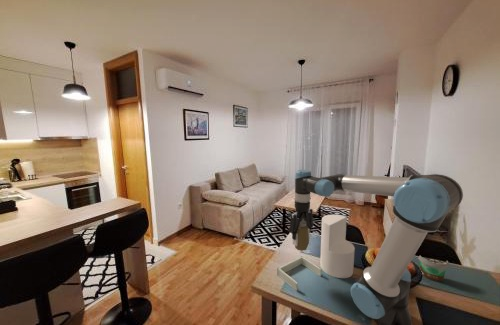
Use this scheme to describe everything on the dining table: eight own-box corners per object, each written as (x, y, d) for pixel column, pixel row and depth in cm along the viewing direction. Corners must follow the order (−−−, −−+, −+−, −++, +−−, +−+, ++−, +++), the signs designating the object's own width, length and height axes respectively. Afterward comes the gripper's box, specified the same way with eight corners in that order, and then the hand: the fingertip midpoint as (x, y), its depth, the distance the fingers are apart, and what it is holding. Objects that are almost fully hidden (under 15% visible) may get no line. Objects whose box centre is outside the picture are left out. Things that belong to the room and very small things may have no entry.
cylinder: (314, 266, 119) (315, 220, 115) (330, 254, 129) (332, 212, 125) (342, 283, 105) (345, 231, 101) (359, 269, 116) (362, 221, 112)
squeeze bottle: (309, 253, 104) (310, 219, 101) (293, 251, 105) (293, 218, 103) (308, 244, 112) (309, 212, 109) (293, 242, 113) (293, 211, 110)
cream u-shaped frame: (321, 275, 111) (321, 268, 110) (296, 291, 101) (296, 283, 100) (301, 262, 123) (301, 256, 122) (277, 275, 112) (277, 268, 112)
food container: (420, 279, 107) (422, 261, 106) (416, 271, 113) (418, 254, 111) (451, 286, 102) (454, 267, 101) (446, 278, 108) (448, 260, 106)
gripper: (310, 194, 113) (308, 233, 117) (281, 202, 102) (281, 245, 105) (321, 198, 107) (319, 239, 111) (292, 207, 96) (291, 252, 99)
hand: (301, 242), depth 108 cm, fingers closed on squeeze bottle, 8 cm apart
